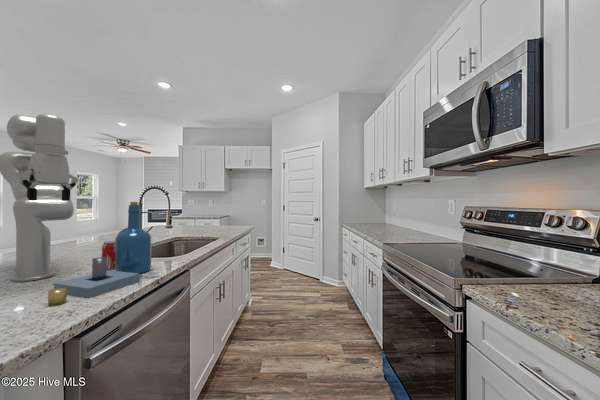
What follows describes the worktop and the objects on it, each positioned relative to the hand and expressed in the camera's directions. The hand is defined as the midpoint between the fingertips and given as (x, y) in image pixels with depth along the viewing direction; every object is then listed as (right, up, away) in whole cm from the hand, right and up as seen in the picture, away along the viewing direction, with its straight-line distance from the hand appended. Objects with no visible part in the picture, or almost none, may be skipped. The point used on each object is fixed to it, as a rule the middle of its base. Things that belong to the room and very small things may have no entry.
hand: (49, 200), depth 93 cm
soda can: (+3, -31, +26) cm, 40 cm away
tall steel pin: (+17, -30, +1) cm, 35 cm away
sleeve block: (+17, -30, +1) cm, 35 cm away
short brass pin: (+16, -30, -15) cm, 37 cm away
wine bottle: (+16, -31, +21) cm, 40 cm away
